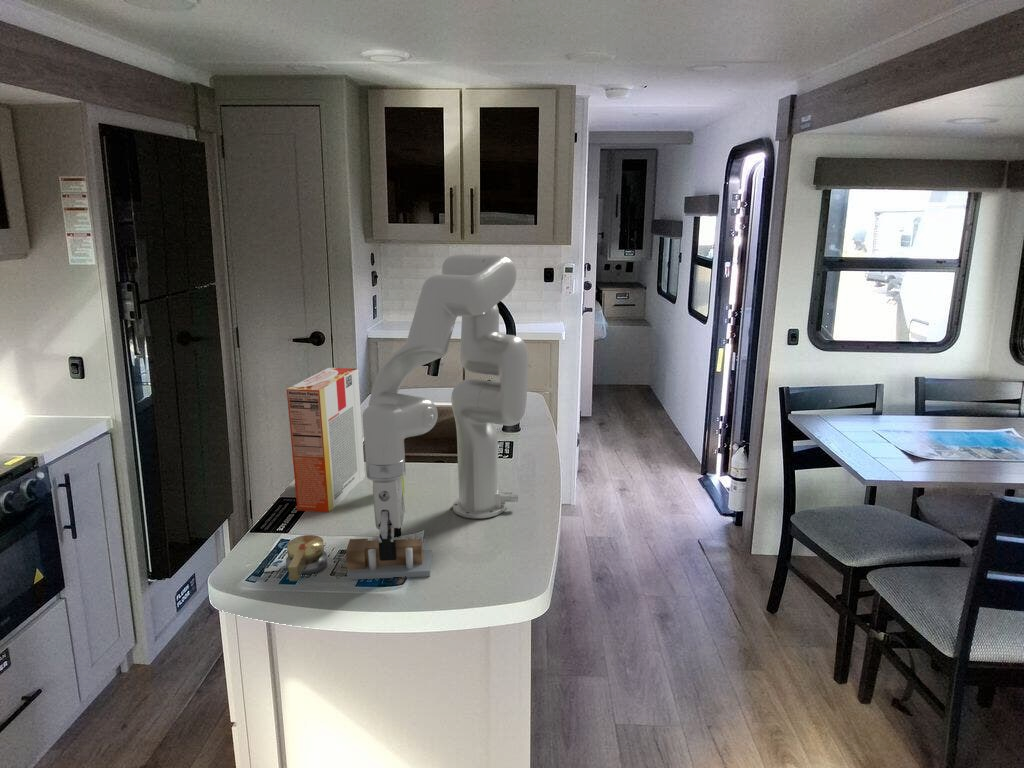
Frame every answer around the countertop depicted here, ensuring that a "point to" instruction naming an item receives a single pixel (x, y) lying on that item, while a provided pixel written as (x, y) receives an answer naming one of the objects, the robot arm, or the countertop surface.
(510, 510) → the countertop surface
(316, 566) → the base
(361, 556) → the tan wooden bar
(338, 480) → the orange cereal box
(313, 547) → the gold lever handle
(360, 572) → the rack
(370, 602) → the countertop surface
